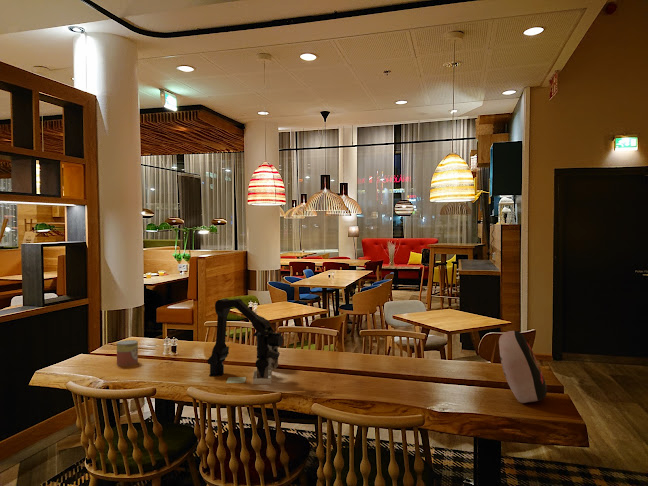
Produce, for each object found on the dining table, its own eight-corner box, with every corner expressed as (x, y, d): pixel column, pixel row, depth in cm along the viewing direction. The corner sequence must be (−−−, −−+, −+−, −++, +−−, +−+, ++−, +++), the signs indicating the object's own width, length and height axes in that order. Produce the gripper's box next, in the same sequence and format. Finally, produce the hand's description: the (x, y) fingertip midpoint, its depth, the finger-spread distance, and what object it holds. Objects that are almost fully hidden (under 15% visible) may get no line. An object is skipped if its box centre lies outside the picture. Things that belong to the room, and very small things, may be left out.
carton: (252, 384, 227) (252, 376, 227) (254, 376, 242) (254, 368, 242) (271, 384, 228) (271, 376, 228) (271, 375, 243) (271, 367, 243)
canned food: (130, 366, 261) (130, 344, 261) (112, 365, 263) (112, 344, 263) (141, 361, 273) (141, 340, 273) (124, 360, 274) (124, 339, 274)
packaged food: (549, 410, 193) (549, 338, 193) (498, 404, 200) (498, 334, 200) (545, 394, 213) (545, 328, 213) (499, 389, 220) (499, 325, 220)
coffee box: (273, 370, 253) (273, 340, 252) (262, 369, 254) (262, 340, 254) (278, 366, 261) (278, 337, 261) (267, 365, 263) (267, 336, 263)
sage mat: (226, 384, 228) (226, 382, 228) (228, 378, 237) (228, 377, 237) (244, 383, 229) (244, 382, 229) (246, 378, 238) (246, 377, 238)
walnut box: (256, 380, 233) (256, 367, 233) (257, 378, 237) (257, 365, 237) (268, 380, 233) (268, 367, 233) (268, 377, 237) (268, 365, 237)
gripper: (278, 349, 226) (278, 381, 226) (278, 340, 245) (278, 370, 245) (255, 349, 225) (255, 381, 225) (257, 341, 244) (257, 371, 244)
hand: (262, 376), depth 235 cm, fingers open, 5 cm apart
